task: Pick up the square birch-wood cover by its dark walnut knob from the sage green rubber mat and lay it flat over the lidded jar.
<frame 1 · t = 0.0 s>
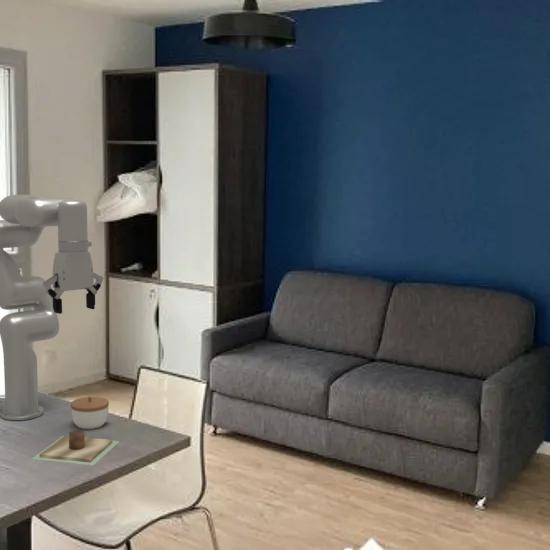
hand: (74, 310, 202), 37 cm above the table, tool pointing down, fingers open, 9 cm apart
cover: (77, 449, 200), point 1 cm above the table, touching mat
mat: (77, 453, 201), on the table
lidded jar: (90, 428, 220), on the table
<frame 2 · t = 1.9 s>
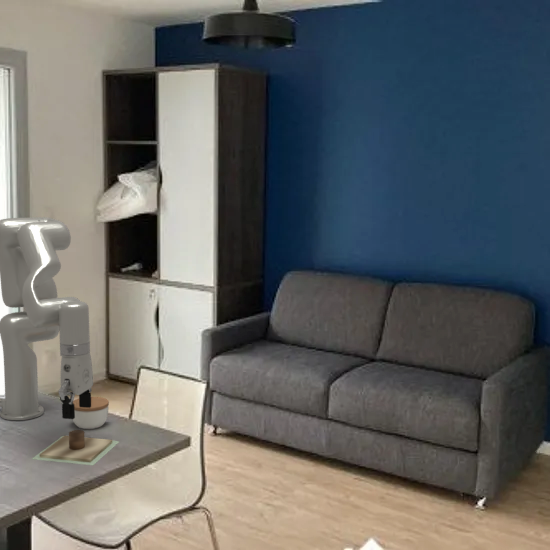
hand: (77, 412, 198), 11 cm above the table, tool pointing down, fingers open, 9 cm apart
nothing on the table moved.
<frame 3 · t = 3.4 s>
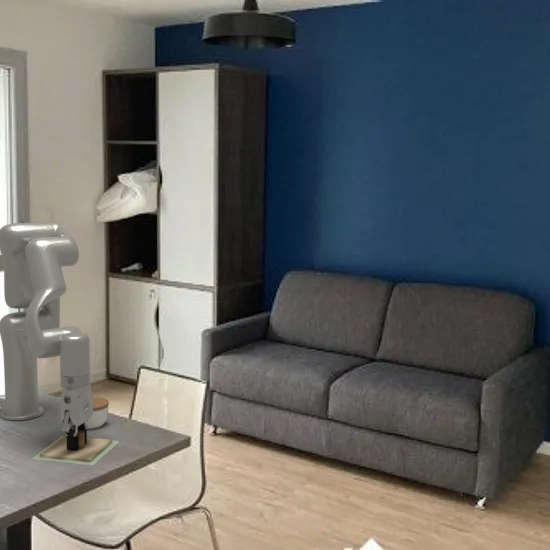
hand: (76, 445, 200), 2 cm above the table, tool pointing down, fingers closed on cover, 4 cm apart
cover: (77, 449, 200), point 1 cm above the table, touching gripper, mat
everything else where it was.
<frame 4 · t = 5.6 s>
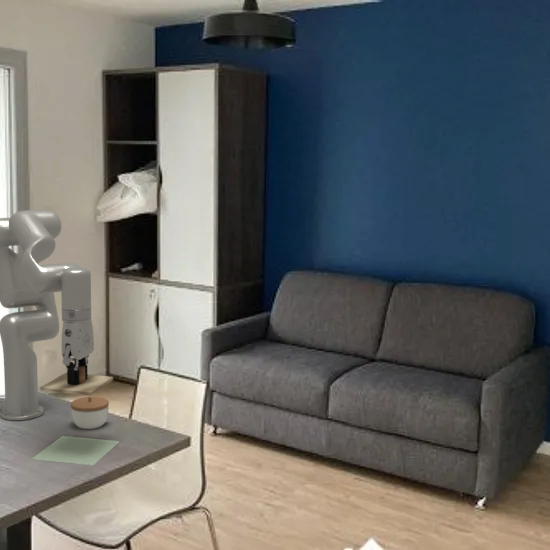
hand: (77, 380, 201), 19 cm above the table, tool pointing down, fingers closed on cover, 4 cm apart
cover: (77, 384, 202), point 18 cm above the table, touching gripper
everything else where it was.
when the fingers open (12 cm above the table, at t = 8.2 s): cover drops 1 cm, resting on lidded jar.
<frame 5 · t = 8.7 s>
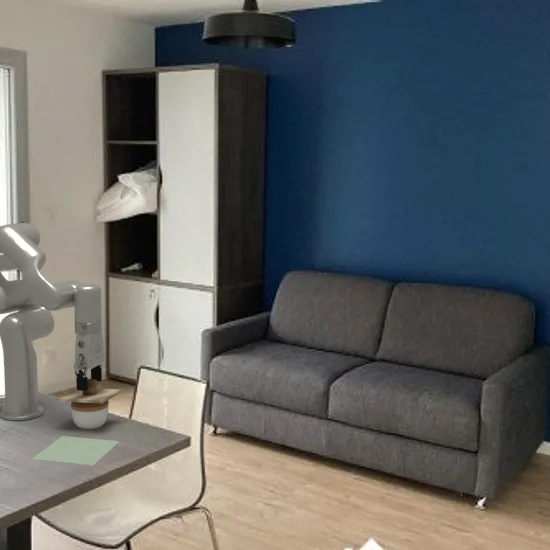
hand: (89, 385, 218), 13 cm above the table, tool pointing down, fingers open, 9 cm apart
cover: (89, 396, 219), point 9 cm above the table, touching lidded jar
lidded jar: (90, 428, 220), on the table, touching cover
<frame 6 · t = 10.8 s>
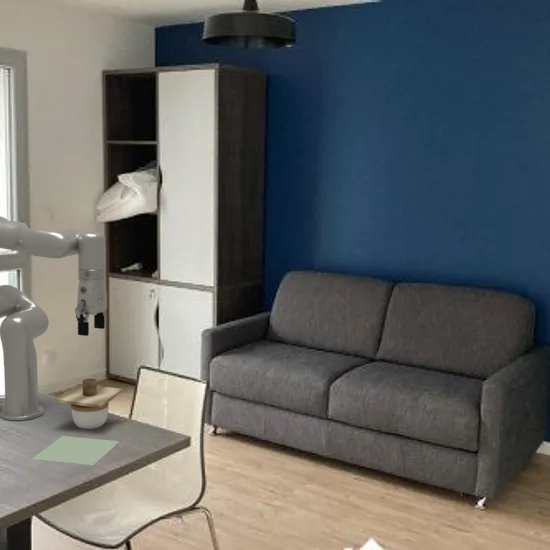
hand: (91, 331, 223), 27 cm above the table, tool pointing down, fingers open, 9 cm apart
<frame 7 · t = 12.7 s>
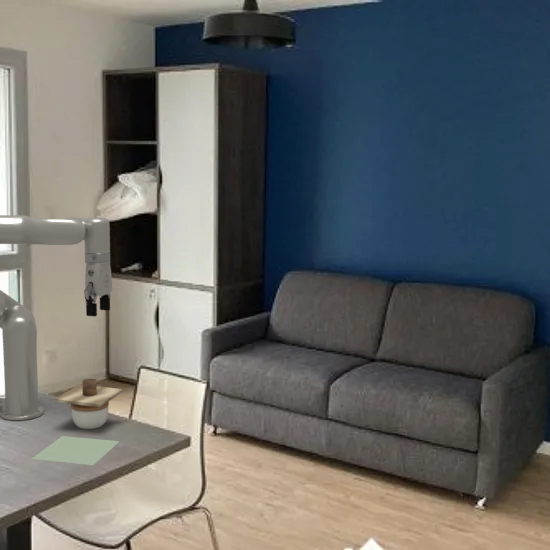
hand: (98, 312, 234), 30 cm above the table, tool pointing down, fingers open, 9 cm apart
nothing on the table moved.
at the end: cover 0.0 cm off-centre on the lidded jar, point 9.6 cm above the lidded jar's base; cover tilted 1°; the gripper is holding nothing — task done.
